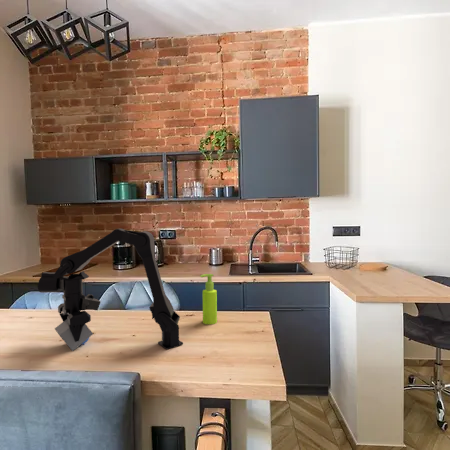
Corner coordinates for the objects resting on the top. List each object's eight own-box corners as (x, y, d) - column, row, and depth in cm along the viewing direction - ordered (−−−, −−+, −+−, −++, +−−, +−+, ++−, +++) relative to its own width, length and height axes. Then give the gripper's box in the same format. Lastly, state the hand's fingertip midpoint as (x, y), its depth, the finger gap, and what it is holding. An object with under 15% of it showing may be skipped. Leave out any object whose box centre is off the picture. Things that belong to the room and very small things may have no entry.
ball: (72, 339, 101) (81, 349, 103) (85, 328, 104) (94, 338, 105) (69, 334, 105) (78, 344, 107) (82, 324, 108) (90, 334, 109)
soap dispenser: (198, 321, 127) (198, 273, 127) (213, 318, 130) (213, 272, 130) (203, 325, 122) (202, 276, 122) (219, 323, 125) (218, 274, 124)
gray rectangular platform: (93, 333, 104) (80, 318, 101) (72, 351, 100) (59, 335, 97) (86, 327, 110) (75, 312, 107) (67, 343, 106) (54, 328, 103)
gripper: (106, 293, 101) (107, 339, 101) (90, 284, 115) (90, 324, 116) (69, 299, 94) (70, 349, 94) (57, 288, 108) (58, 331, 109)
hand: (74, 337), depth 103 cm, fingers closed on gray rectangular platform, 8 cm apart
